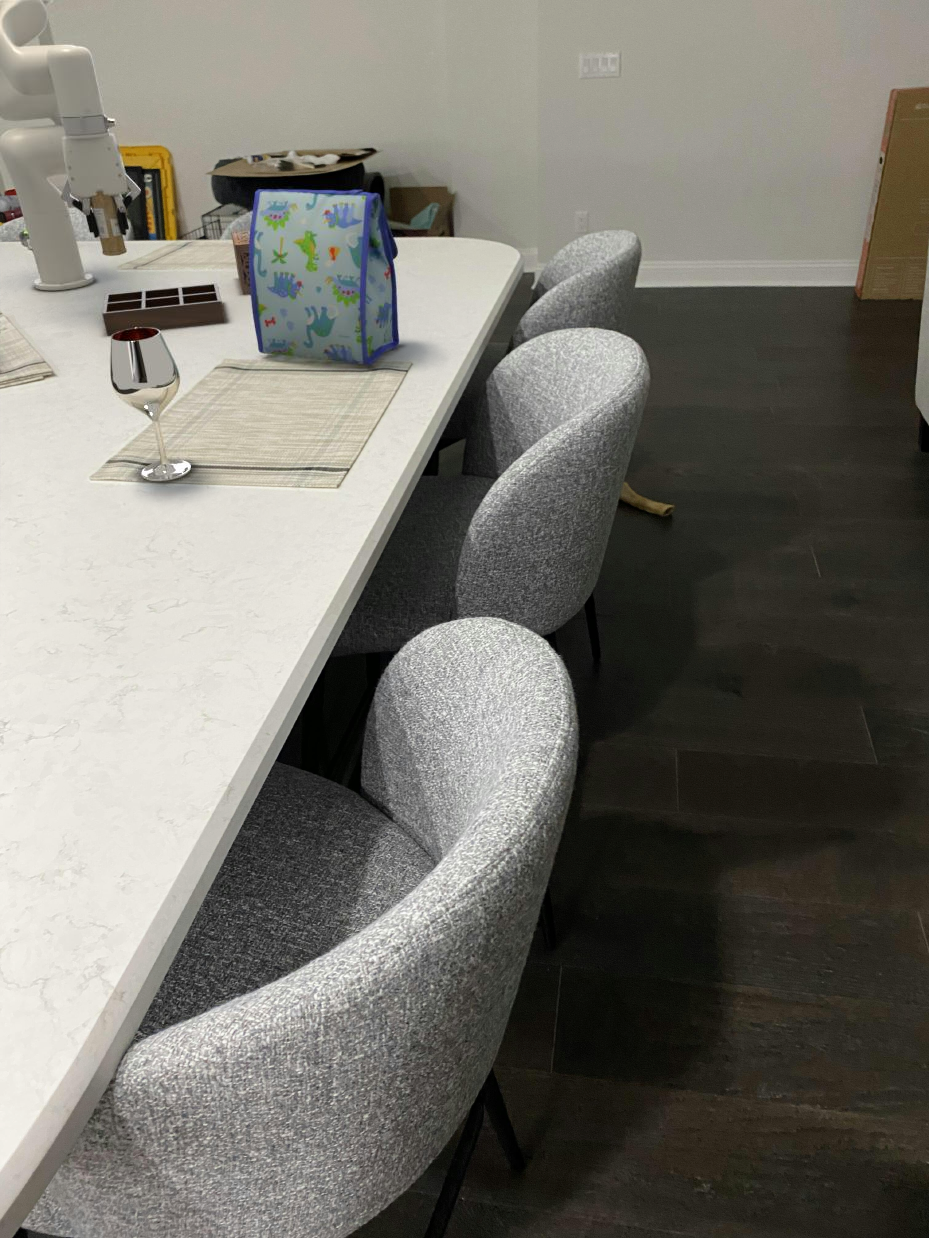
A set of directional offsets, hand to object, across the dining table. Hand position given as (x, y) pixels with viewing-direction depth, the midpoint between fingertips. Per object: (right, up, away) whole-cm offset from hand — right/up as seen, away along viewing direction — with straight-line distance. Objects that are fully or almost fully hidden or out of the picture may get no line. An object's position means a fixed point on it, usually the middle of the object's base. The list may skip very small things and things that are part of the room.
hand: (110, 234), depth 176 cm
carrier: (+8, -14, +7) cm, 18 cm away
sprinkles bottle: (0, -3, +2) cm, 4 cm away
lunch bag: (+44, -26, -13) cm, 53 cm away
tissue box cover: (+31, +2, +30) cm, 43 cm away
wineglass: (+28, -54, -54) cm, 81 cm away
